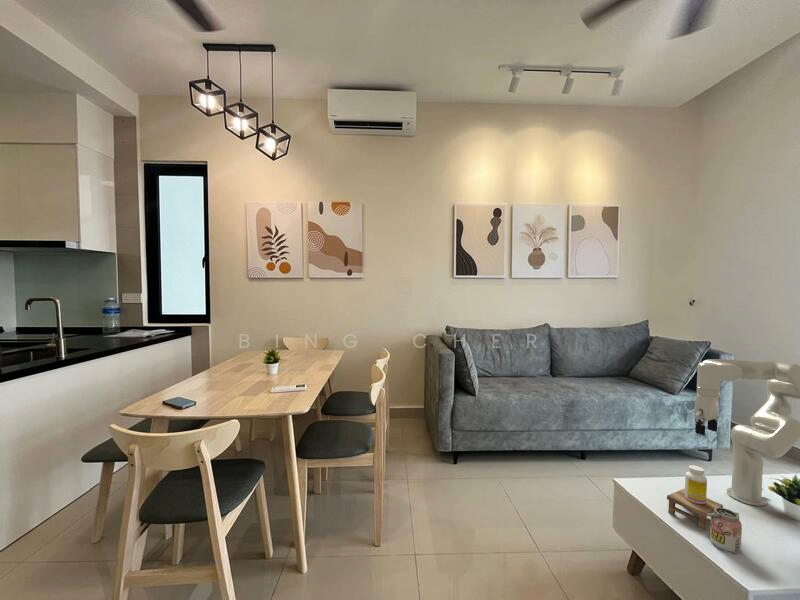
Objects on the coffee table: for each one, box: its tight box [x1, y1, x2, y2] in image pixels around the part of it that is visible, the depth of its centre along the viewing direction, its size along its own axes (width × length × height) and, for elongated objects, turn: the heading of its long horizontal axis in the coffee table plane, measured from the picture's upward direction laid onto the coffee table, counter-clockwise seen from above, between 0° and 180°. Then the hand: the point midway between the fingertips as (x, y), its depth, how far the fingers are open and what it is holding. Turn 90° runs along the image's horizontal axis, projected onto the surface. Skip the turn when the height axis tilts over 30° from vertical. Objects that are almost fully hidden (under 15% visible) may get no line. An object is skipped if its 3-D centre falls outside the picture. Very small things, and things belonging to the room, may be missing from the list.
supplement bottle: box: [684, 464, 708, 504], centre depth 144 cm, size 7×7×13 cm
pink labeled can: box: [707, 507, 743, 554], centre depth 128 cm, size 9×8×12 cm
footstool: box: [666, 487, 724, 531], centre depth 144 cm, size 13×13×7 cm
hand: (706, 432), depth 154 cm, fingers open, 9 cm apart
